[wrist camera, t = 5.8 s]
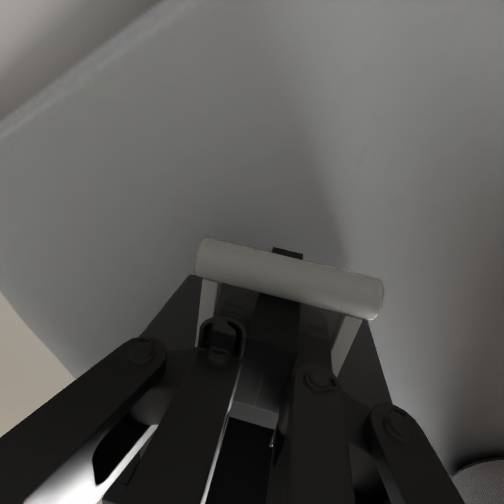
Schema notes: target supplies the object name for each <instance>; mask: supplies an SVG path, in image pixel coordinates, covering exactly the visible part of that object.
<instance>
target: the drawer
mask: <svg viewBox="0 0 504 504" xmlns="http://www.w3.org/2000/svg"><path fill="white" fill-rule="evenodd" d="M195 274H196V275H197V276H195V275H191V274H190V275H189V276H188V277H187V278H186V279H185V281H184V282H183V283H182V284H181V286H180V287H179V288H178V289H177V291H176V292H175V293H174V294H173V296H172V297H171V298H170V299H169V300H168V302H167V303H166V304H165V305H164V307H163V308H162V309H161V310H160V312H159V313H158V314H157V315H156V316H155V318H154V319H153V320H152V321H151V323H150V324H149V325H148V326H147V328H146V329H145V330H144V331H143V332H142V334H141V335H140V336H151V337H154V338H157V339H159V340H161V341H162V342H163V343H164V344H165V346H166V348H167V350H188V349H192V348H195V347H197V346H198V339H199V331H200V325H201V324H202V323H203V322H204V321H205V320H207V319H209V318H211V317H216V316H218V315H219V313H220V311H221V308H222V306H223V305H224V302H225V300H226V298H227V296H228V295H229V294H230V293H232V292H233V291H235V290H240V291H244V292H248V293H251V294H255V295H259V293H260V292H261V293H265V294H268V295H272V296H276V297H280V298H284V299H288V300H292V301H296V302H300V303H301V306H305V307H308V308H312V309H316V310H320V311H322V312H323V314H324V315H325V317H326V319H327V320H328V329H329V331H328V332H329V340H330V349H331V360H332V370H333V373H334V375H335V376H336V377H337V379H338V380H339V382H340V385H341V388H342V389H343V390H344V391H345V392H346V393H347V394H348V395H349V396H351V397H352V398H354V399H355V400H357V401H359V402H361V403H362V404H364V405H366V406H368V407H369V408H371V409H372V408H373V407H374V406H375V405H376V404H379V403H388V404H392V400H391V397H390V394H389V390H388V387H387V384H386V380H385V377H384V374H383V370H382V367H381V364H380V361H379V357H378V354H377V351H376V347H375V344H374V341H373V337H372V334H371V331H370V328H369V324H368V321H367V320H373V319H375V318H376V316H377V315H378V313H379V311H380V309H381V306H382V302H383V296H384V287H383V283H382V281H381V280H380V279H378V278H374V277H370V276H366V275H362V274H357V273H353V272H349V271H345V270H341V269H337V268H333V267H329V266H324V265H320V264H316V263H312V262H308V261H304V260H300V259H295V258H291V257H287V256H283V255H279V254H275V253H271V252H266V251H262V250H258V249H254V248H250V247H246V246H242V245H238V244H233V243H229V242H225V241H221V240H217V239H213V238H209V237H207V238H205V239H204V240H203V241H202V243H201V244H200V246H199V249H198V252H197V255H196V260H195ZM140 336H139V337H140ZM392 405H393V404H392ZM278 417H279V409H278V412H277V414H275V413H272V412H269V411H265V410H262V409H259V408H255V407H252V406H249V405H245V404H242V403H239V402H235V401H233V402H232V405H231V409H230V414H229V418H228V422H227V425H226V429H225V433H224V436H223V440H222V443H221V447H220V451H219V454H218V458H217V462H216V465H215V469H214V473H213V476H212V480H211V483H210V487H209V491H208V494H207V498H206V502H205V504H266V498H267V489H268V481H269V472H270V464H271V455H272V447H269V445H270V442H271V439H272V436H273V433H274V431H275V428H276V425H277V422H278ZM156 429H157V428H156ZM155 431H156V430H155ZM155 431H154V432H153V433H152V435H151V436H150V437H149V438H148V440H147V441H146V442H145V443H144V445H143V446H142V447H141V448H140V460H141V458H142V456H143V454H144V452H145V450H146V448H147V446H148V445H149V443H150V441H151V439H152V437H153V435H154V433H155Z"/></svg>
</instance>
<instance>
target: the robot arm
mask: <svg viewBox="0 0 504 504" xmlns="http://www.w3.org/2000/svg"><path fill="white" fill-rule="evenodd" d="M272 253H275V254H279V255H283V256H287V257H291V258H295V259H300V260H303V254H300V253H296V252H292V251H288V250H284V249H280V248H276V247H273V250H272ZM328 331H329V329H328V320H327V319H326V317H325V315H324V314H323V312H322V311H320V310H316V309H312V308H308V307H305V306H301V303H300V302H296V301H292V300H288V299H284V298H280V297H276V296H272V295H268V294H265V293H261V292H260V293H259V295H255V294H251V293H248V292H244V291H240V290H235V291H233V292H232V293H230V294H229V295H228V296H227V298H226V300H225V302H224V305H223V306H222V308H221V311H220V313H219V315H218V316H216V317H211V318H209V319H207V320H205V321H204V322H203V323H202V324H201V325H200V331H199V339H198V346H197V347H195V348H192V349H188V350H167V348H166V346H165V344H164V343H163V342H162V341H161V340H159V339H157V338H154V337H151V336H140V337H136V338H132V339H130V340H128V341H127V342H125V343H123V344H122V345H120V346H119V347H118V348H117V349H115V350H114V351H113V352H111V353H110V354H109V355H107V356H106V357H105V358H104V359H102V360H101V361H100V362H98V363H97V364H96V365H94V366H93V367H92V368H90V369H89V370H88V371H87V372H85V373H84V374H83V375H81V376H80V377H79V378H77V379H76V380H75V381H74V382H72V383H71V384H70V385H68V386H67V387H66V388H65V389H63V390H62V391H61V392H59V393H58V394H57V395H55V396H54V397H53V398H52V399H50V400H49V401H48V402H46V403H45V404H44V405H42V406H41V407H40V408H38V409H37V410H36V411H34V412H33V413H32V414H31V415H29V416H28V417H27V418H25V419H24V420H23V421H21V422H20V423H19V424H18V425H16V426H15V427H14V428H12V429H11V430H10V431H9V432H7V433H6V434H4V435H3V436H2V437H1V438H0V504H96V503H97V502H98V501H99V500H100V498H101V497H102V496H103V495H104V493H105V492H106V491H107V490H108V488H109V487H110V486H111V485H112V483H113V482H114V481H115V480H116V478H117V477H118V476H119V475H120V473H121V472H122V471H123V470H124V468H125V467H126V466H127V465H128V463H129V462H130V461H131V460H132V458H133V457H134V456H135V455H136V453H137V452H138V451H139V450H140V448H141V447H142V446H143V445H144V443H145V442H146V441H147V440H148V438H149V437H150V436H151V435H152V433H153V432H154V431H155V430H156V431H155V433H154V435H153V437H152V439H151V441H150V443H149V445H148V446H147V448H146V450H145V452H144V454H143V456H142V458H141V460H140V462H139V464H138V466H137V468H136V470H135V472H134V474H133V476H132V478H131V480H130V482H129V484H128V486H127V488H126V490H125V492H124V494H123V496H122V498H121V500H120V502H119V504H205V502H206V498H207V494H208V491H209V487H210V483H211V480H212V476H213V473H214V469H215V465H216V462H217V458H218V454H219V451H220V447H221V443H222V440H223V436H224V433H225V429H226V425H227V422H228V418H229V414H230V409H231V405H232V402H233V401H235V402H239V403H242V404H245V405H249V406H252V407H255V408H259V409H262V410H265V411H269V412H272V413H275V414H277V412H278V409H279V417H278V422H277V425H276V428H275V431H274V433H273V436H272V439H271V442H270V445H269V447H272V455H271V464H270V472H269V481H268V489H267V498H266V504H465V502H464V500H463V498H462V497H461V495H460V493H459V492H458V490H457V488H456V486H455V485H454V483H453V481H452V480H451V478H450V476H449V475H448V473H447V471H446V469H445V468H444V466H443V464H442V463H441V461H440V459H439V457H438V456H437V454H436V452H435V451H434V449H433V447H432V445H431V444H430V442H429V440H428V439H427V437H426V435H425V433H424V432H423V430H422V429H421V427H420V426H419V425H418V423H417V422H416V421H415V419H414V418H413V417H411V416H410V415H409V414H408V413H407V412H406V411H404V410H403V409H401V408H399V407H397V406H395V405H392V404H388V403H379V404H376V405H375V406H374V407H373V408H372V409H371V408H369V407H368V406H366V405H364V404H362V403H361V402H359V401H357V400H355V399H354V398H352V397H351V396H349V395H348V394H347V393H346V392H345V391H344V390H343V389H342V388H341V385H340V382H339V380H338V379H337V377H336V376H335V375H334V373H333V370H332V360H331V349H330V340H329V332H328ZM156 428H157V429H156Z"/></svg>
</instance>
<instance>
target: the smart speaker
mask: <svg viewBox="0 0 504 504" xmlns="http://www.w3.org/2000/svg"><path fill="white" fill-rule="evenodd" d="M451 480H452V481H453V483H454V485H455V486H456V488H457V490H458V492H459V493H460V495H461V497H462V498H463V500H464V502H465V504H504V457H494V458H487V459H482V460H479V461H475V462H473V463H470V464H468V465H466V466H464V467H463V468H461V469H460V470H458V471H457V472H456V473H455V474H454V475H453V476H452V477H451Z"/></svg>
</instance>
